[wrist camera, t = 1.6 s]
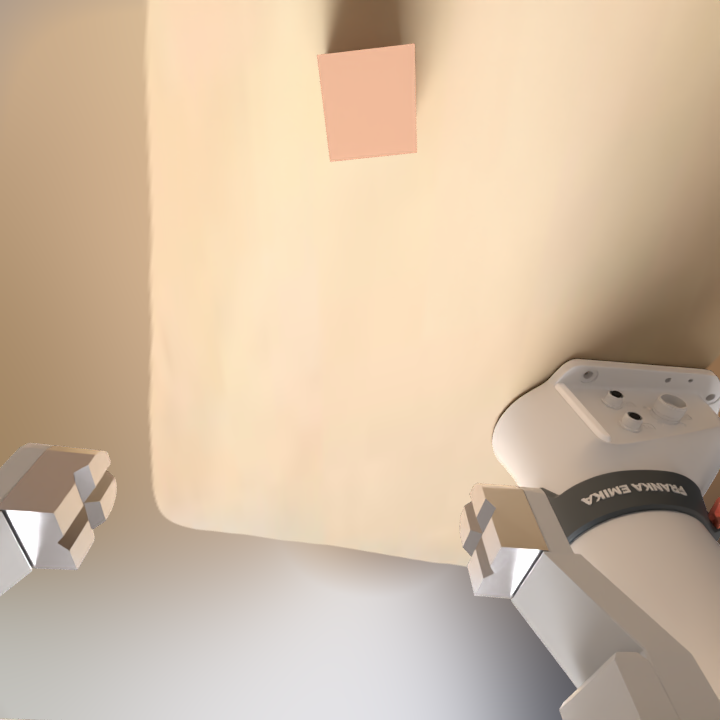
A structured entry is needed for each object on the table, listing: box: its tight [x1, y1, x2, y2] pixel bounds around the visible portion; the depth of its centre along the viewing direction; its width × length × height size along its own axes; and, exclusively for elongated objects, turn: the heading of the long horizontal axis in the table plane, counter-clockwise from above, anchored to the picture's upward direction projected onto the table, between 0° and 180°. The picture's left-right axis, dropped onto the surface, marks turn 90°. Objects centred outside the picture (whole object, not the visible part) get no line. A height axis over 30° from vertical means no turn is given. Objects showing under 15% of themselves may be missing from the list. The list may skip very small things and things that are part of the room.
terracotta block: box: [317, 43, 417, 162], centre depth 25 cm, size 5×5×7 cm
